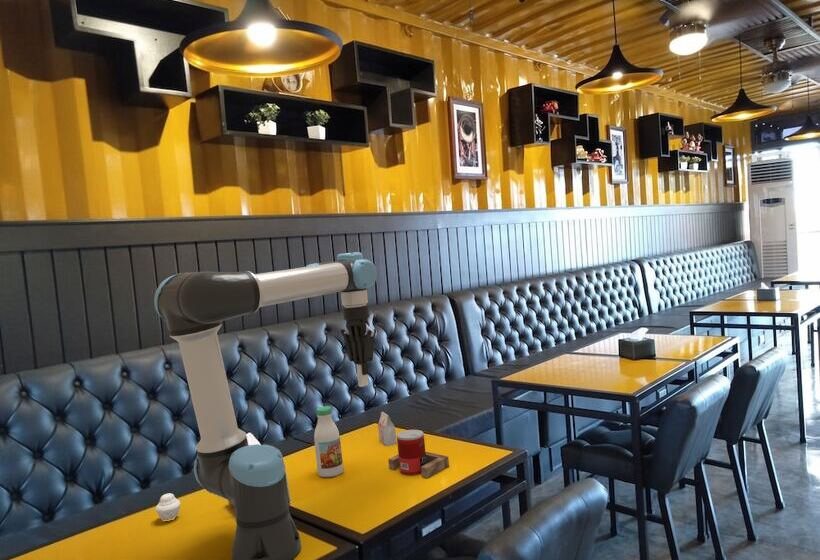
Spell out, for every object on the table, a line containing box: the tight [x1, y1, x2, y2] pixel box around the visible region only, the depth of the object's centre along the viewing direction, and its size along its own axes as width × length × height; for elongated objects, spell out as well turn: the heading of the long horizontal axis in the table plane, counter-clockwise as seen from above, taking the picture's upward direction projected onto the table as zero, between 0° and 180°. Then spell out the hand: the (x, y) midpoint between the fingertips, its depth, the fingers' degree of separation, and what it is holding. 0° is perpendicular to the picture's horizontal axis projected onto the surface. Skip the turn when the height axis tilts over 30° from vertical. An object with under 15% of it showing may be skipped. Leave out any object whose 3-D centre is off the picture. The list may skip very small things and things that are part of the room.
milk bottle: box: [313, 405, 344, 478], centre depth 177 cm, size 8×8×20 cm
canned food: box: [396, 429, 427, 476], centre depth 173 cm, size 8×8×11 cm
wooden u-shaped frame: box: [388, 451, 450, 479], centre depth 175 cm, size 10×15×3 cm, turn 48°
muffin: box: [155, 492, 181, 521], centre depth 156 cm, size 6×6×7 cm
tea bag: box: [377, 411, 397, 447], centre depth 200 cm, size 4×7×10 cm, turn 22°
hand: (363, 385), depth 172 cm, fingers closed
